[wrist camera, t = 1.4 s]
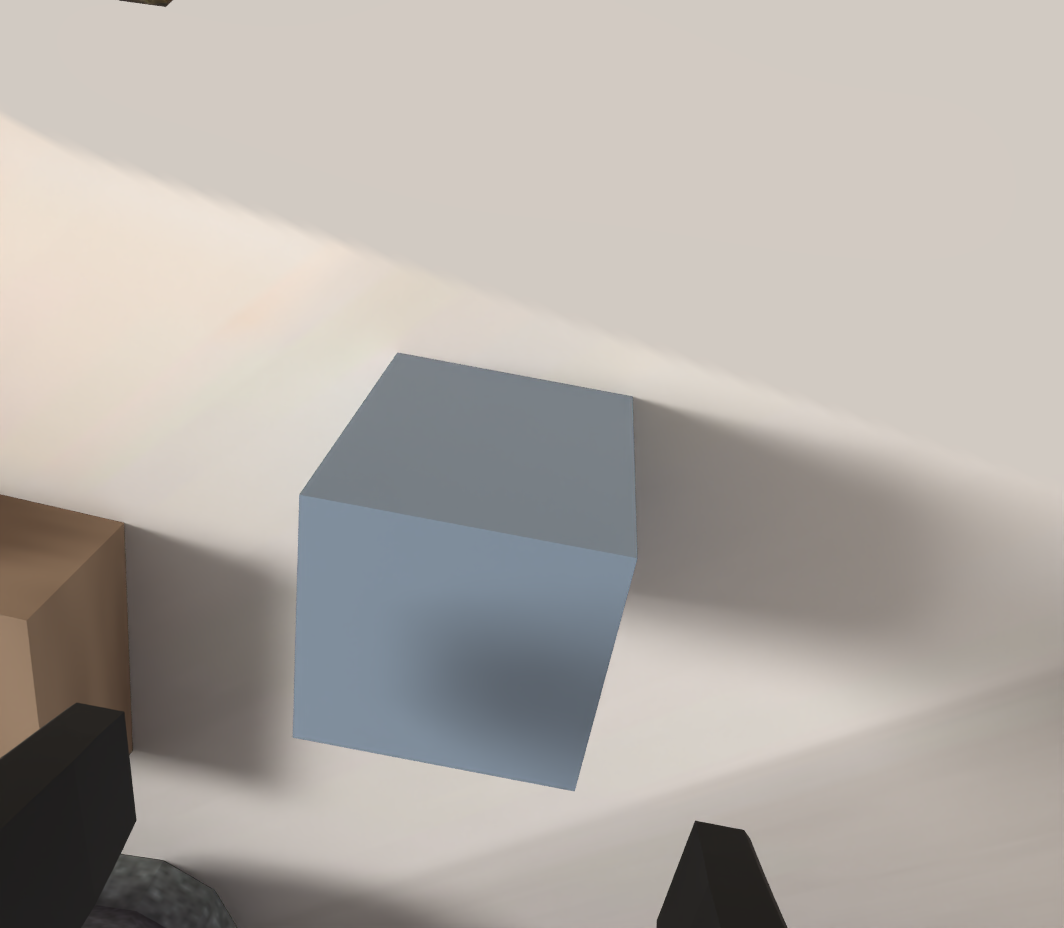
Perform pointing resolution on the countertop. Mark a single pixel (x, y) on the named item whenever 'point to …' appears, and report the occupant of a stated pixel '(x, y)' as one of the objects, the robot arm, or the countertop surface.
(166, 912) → the mortar and pestle
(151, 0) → the grey rock
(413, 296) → the countertop surface
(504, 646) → the slate block
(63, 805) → the robot arm
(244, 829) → the countertop surface
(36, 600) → the walnut plinth
